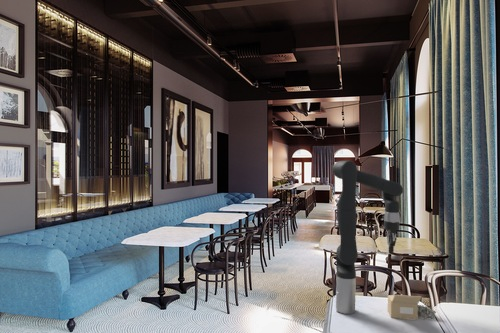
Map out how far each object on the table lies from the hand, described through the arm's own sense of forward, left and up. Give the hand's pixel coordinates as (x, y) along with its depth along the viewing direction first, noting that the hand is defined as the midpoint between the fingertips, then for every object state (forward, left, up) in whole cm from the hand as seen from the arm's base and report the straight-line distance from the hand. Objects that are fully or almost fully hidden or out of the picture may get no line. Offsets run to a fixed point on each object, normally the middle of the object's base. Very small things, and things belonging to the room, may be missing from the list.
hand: (391, 253), depth 195 cm
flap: (+3, -21, -16) cm, 27 cm away
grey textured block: (+14, -11, -28) cm, 33 cm away
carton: (+3, -14, -27) cm, 31 cm away
